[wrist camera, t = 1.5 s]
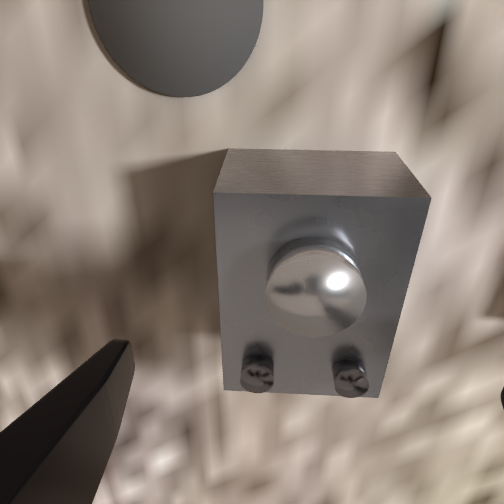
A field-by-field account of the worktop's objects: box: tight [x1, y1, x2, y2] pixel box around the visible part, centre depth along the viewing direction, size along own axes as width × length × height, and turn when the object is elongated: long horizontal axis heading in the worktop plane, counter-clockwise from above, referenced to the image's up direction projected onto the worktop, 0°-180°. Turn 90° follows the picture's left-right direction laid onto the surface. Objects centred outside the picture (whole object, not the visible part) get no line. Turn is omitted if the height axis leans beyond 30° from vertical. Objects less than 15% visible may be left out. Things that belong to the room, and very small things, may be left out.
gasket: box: [88, 0, 263, 97], centre depth 10 cm, size 4×4×1 cm
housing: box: [213, 149, 431, 398], centre depth 12 cm, size 7×5×4 cm
